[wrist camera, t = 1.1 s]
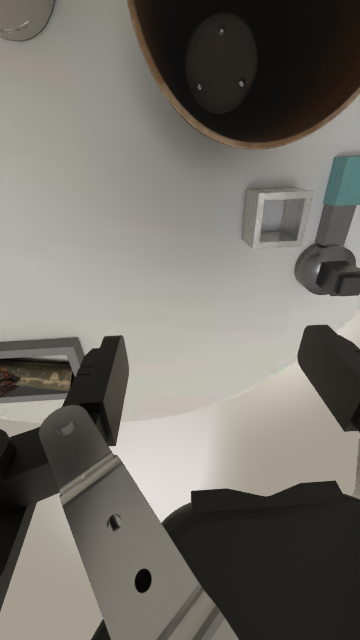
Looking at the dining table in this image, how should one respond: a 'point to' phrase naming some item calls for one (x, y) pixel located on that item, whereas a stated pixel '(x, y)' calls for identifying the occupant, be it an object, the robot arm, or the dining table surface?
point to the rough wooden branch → (34, 376)
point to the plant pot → (253, 64)
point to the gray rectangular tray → (41, 349)
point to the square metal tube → (291, 221)
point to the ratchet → (334, 236)
